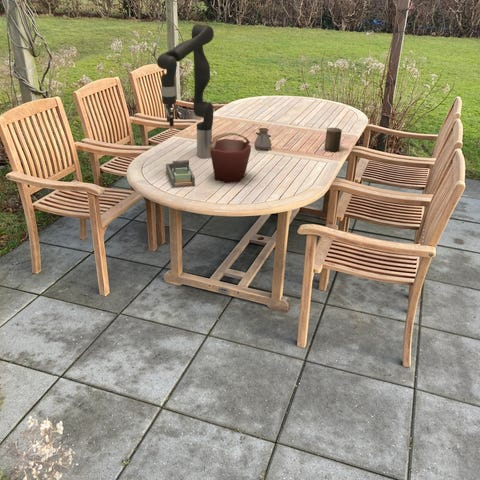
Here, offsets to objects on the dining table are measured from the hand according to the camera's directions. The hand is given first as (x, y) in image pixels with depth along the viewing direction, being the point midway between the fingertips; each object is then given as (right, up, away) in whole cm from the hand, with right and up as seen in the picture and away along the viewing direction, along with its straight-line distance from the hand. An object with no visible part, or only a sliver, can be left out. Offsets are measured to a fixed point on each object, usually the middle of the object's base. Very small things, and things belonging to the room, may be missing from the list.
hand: (170, 123), depth 278 cm
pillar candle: (+99, -6, +51) cm, 111 cm away
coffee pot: (+52, -7, +45) cm, 69 cm away
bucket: (+32, -29, +5) cm, 43 cm away
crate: (+7, -32, -4) cm, 33 cm away
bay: (+5, -30, +1) cm, 31 cm away
